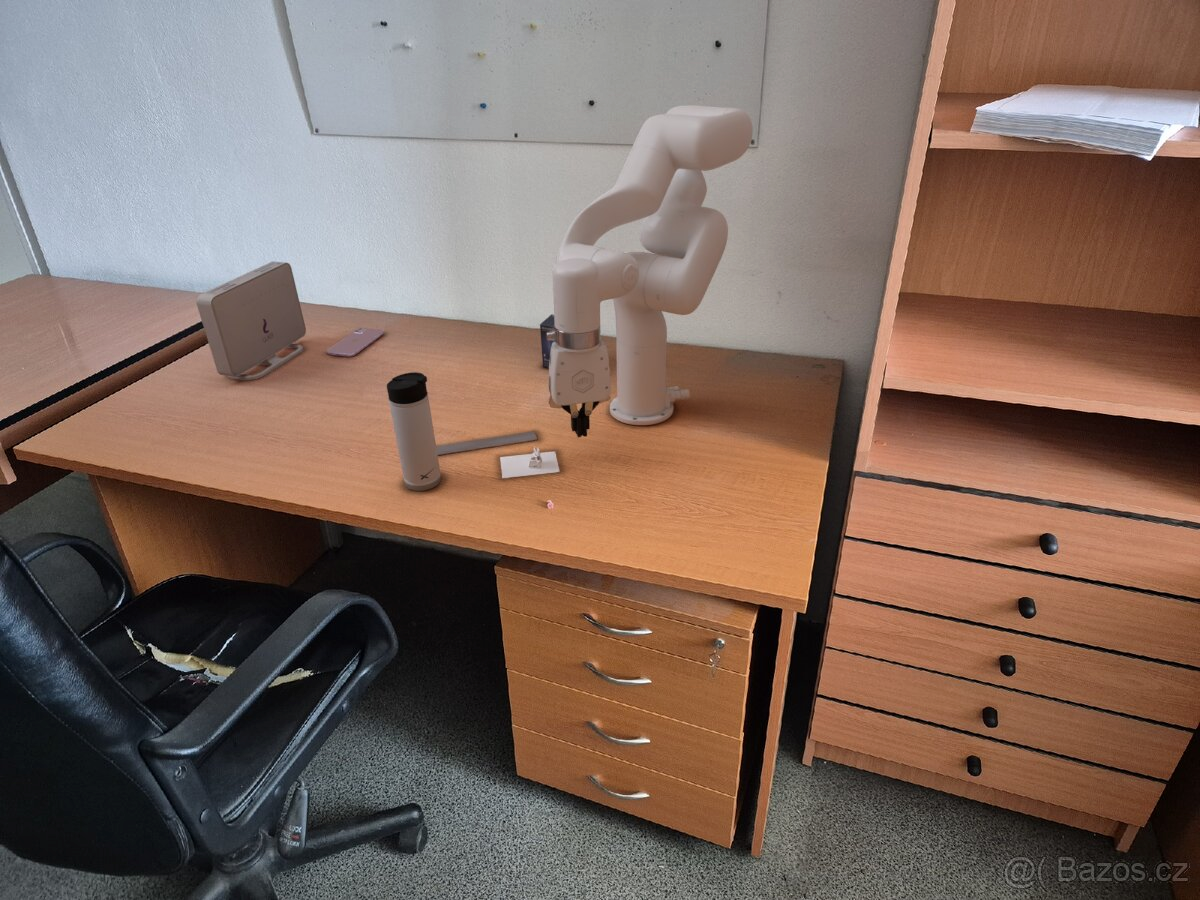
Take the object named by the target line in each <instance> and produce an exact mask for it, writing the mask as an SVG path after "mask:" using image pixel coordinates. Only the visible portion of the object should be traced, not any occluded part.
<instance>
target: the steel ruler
mask: <svg viewBox="0 0 1200 900" xmlns="http://www.w3.org/2000/svg"><path fill="white" fill-rule="evenodd" d="M534 441H535V442H536V441H538V437H537V435H536V432H535V431H534V430H533V431H527V432H521V433H519V432H518V433H514V434H507V435H502V436H494V437H487V438H482V439H475V440H468V441H462V442H461V441H460V442H456V443H455V442H454V443H449V444H442V445H436V448H437V455H438V456H445V455H451V454H457V453H458V454H459V453H464V452H471V451H476V450H483V449H490V448H495V447H501V446H507V445H515V444H520V443H521V444H523V443H527V442H534Z"/></svg>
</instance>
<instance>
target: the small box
mask: <svg viewBox="0 0 1200 900" xmlns="http://www.w3.org/2000/svg"><path fill="white" fill-rule="evenodd" d="M554 325H555V322H554V313H551V314H550V315H549V316H548V317H547V318H545V319H544V320H543V321H542V322H541V323H540V324H539V329H540V343H541V359H542V367H543V368H546V369H549V360H550V352H551V346H552V343H553V342H554V341H552V340H547V338H546V332H551V331H553V329H554Z"/></svg>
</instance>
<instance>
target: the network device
mask: <svg viewBox="0 0 1200 900" xmlns="http://www.w3.org/2000/svg"><path fill="white" fill-rule="evenodd" d="M300 302H301V301H300V298H299V294H298V290H297V285H296V282H295V277H294V272H293V269H292V265H291V264H290V262H289V263H288V262H284V261H270V262H268V263H266V264H264V265H261V266H259V267H257V268H254V269H253V270H250V271H249V272H246V273H244V274H241V275H240V276H238V277H235V278H233V279H231V280H229V281H226V282H225V283H222V284H220V285H217V286H216V287H214V288H211V289H210V290H207V291H205V292H203V293H201V294H199V295H198V296H197V297H196V307H197V310H198V314H199V317H200V319H201V323H202V326H203V330H204V333H205V336H206V339H207V342H208V346H209V348H210V352H211V355H212V358H213V362H214V366H215V368H216V372H217V373H218V374H219V375H220V376H227V377H228V378H230V379H234V380H240V381H253V380H257V379H261V378H262V377H265V376H266V375H268V374H270V373H271V372H272V371H274V370H275V369H277V368H279V367H280V366H282V365H284V364H285V363H287V362H289V361H290V360H291V359H293V358H294V357H296V356H298V355H299V354H301V353H302V352H303V351H304V348H303V345H302V344H299V343H296V342H297V341H299V340H301V339H303V337H304V336H305V335H306V333H307V328H306V324H305V319H304V315H303V310H302V306H301V303H300ZM286 348H288V349H295V350H293V351H292V352H291V353H289V354H287V355H286V356H283V357H278V356H277V353H279V352H281V351H282V350H284V349H286ZM258 365H264V366H268V367H266V368H265V369H263V370H262V371H260V372H258V373H257V374H254V375H249V374H245V373H246V372H248V371H250V370H251V369H253V368H255V367H256V366H258Z"/></svg>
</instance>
